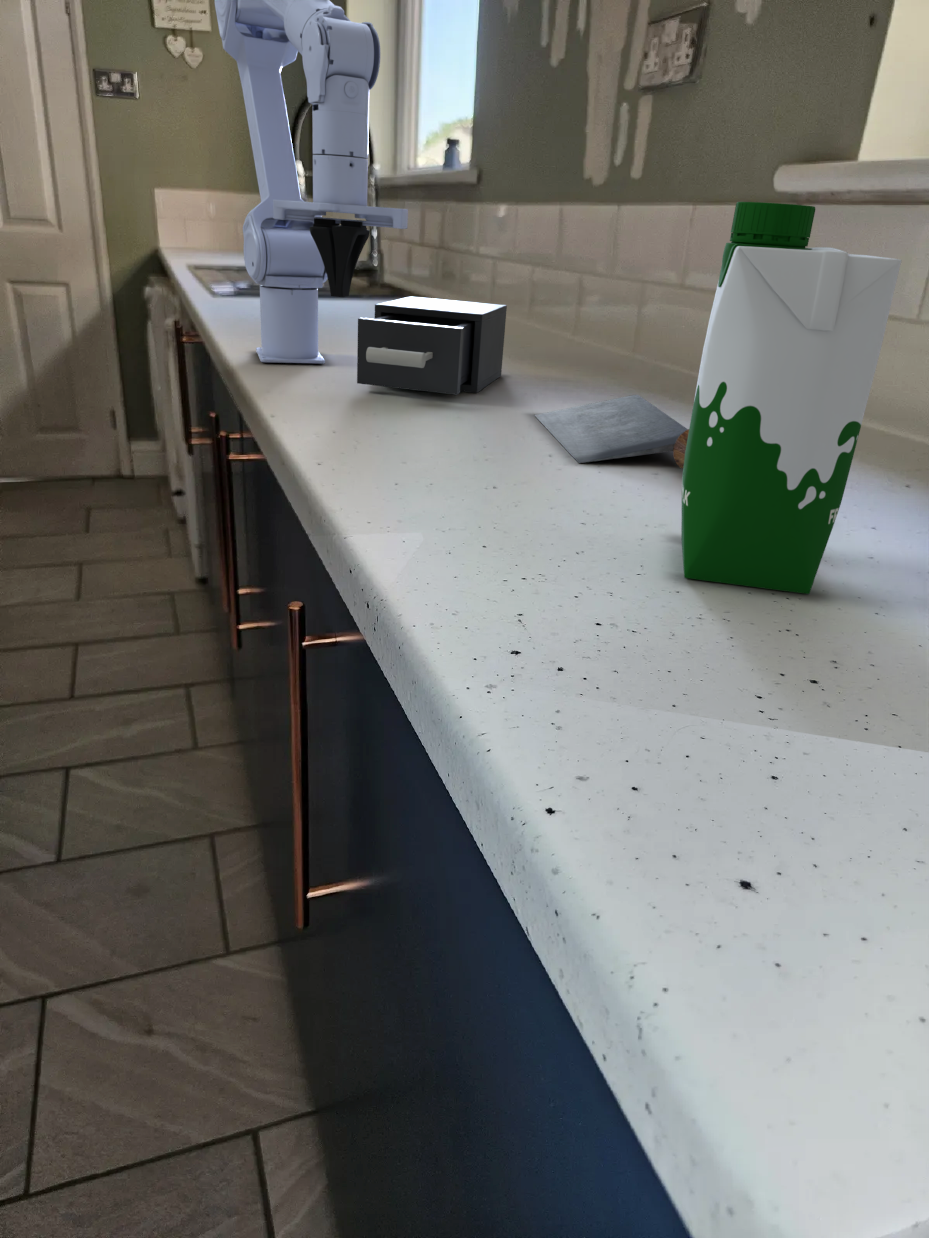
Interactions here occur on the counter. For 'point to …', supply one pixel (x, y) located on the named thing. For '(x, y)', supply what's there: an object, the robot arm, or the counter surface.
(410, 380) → the dark drawer box
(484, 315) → the small drawer unit
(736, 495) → the milk carton
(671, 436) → the meat cleaver
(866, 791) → the counter surface
